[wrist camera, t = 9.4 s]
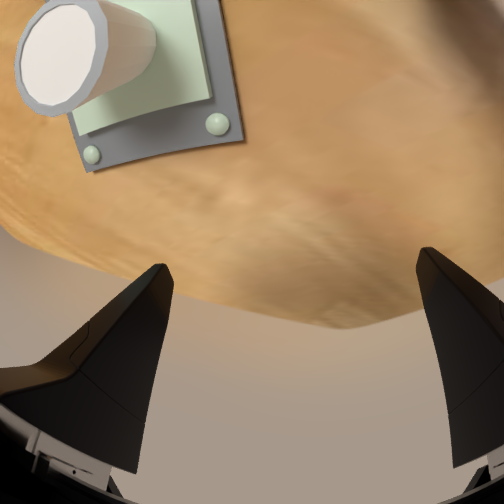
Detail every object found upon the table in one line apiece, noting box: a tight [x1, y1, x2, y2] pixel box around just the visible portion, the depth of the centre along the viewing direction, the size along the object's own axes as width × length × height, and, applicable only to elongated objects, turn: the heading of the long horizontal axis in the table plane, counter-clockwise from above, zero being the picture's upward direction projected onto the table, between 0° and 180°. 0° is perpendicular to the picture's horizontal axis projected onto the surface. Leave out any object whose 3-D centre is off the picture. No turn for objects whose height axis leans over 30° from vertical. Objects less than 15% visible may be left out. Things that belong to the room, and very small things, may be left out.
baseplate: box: [45, 0, 244, 173], centre depth 14 cm, size 14×18×2 cm
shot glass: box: [14, 0, 156, 117], centre depth 11 cm, size 7×7×7 cm
